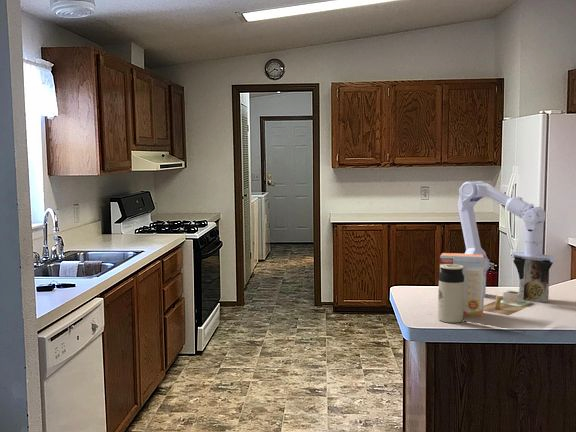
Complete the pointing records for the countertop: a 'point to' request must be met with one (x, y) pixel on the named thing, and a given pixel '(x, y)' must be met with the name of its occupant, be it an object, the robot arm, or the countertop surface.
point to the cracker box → (469, 280)
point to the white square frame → (513, 297)
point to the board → (505, 306)
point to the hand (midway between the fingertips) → (532, 280)
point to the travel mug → (451, 293)
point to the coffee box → (534, 282)
